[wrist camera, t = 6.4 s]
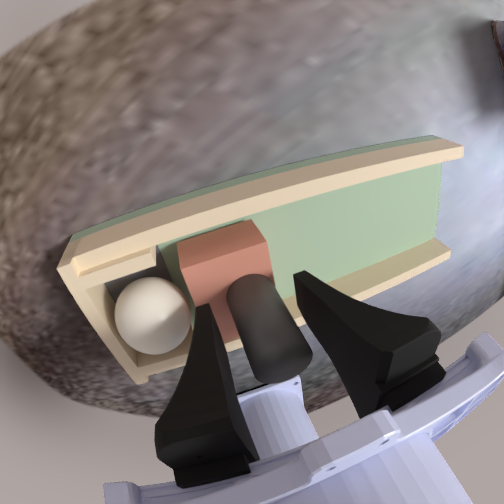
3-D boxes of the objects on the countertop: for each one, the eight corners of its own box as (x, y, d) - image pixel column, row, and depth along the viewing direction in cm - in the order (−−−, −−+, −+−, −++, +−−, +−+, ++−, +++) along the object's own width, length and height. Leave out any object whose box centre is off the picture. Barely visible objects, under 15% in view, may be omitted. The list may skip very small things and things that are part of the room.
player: (267, 294, 19) (316, 385, 13) (204, 315, 18) (233, 415, 12) (251, 219, 16) (311, 305, 10) (176, 242, 15) (194, 346, 9)
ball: (181, 305, 18) (214, 342, 15) (126, 338, 16) (150, 382, 14) (157, 252, 16) (190, 283, 13) (94, 287, 14) (112, 329, 11)
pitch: (425, 240, 23) (453, 261, 20) (135, 344, 19) (136, 384, 16) (432, 135, 18) (469, 148, 15) (72, 234, 14) (56, 268, 12)
